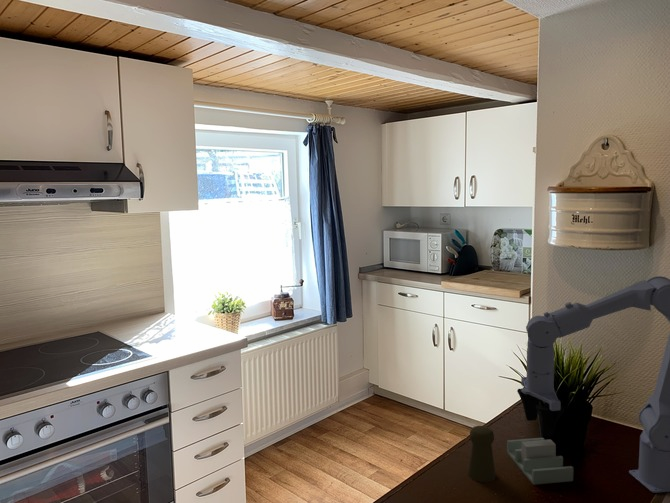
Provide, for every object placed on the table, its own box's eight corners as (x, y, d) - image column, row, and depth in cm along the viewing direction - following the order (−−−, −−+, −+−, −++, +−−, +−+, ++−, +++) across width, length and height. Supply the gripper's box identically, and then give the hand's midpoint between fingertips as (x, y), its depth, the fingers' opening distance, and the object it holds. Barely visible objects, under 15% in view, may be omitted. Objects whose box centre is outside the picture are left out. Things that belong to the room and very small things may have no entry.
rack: (542, 449, 126) (543, 437, 126) (573, 481, 113) (573, 467, 113) (507, 452, 126) (507, 440, 125) (533, 484, 112) (533, 471, 112)
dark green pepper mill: (488, 485, 112) (488, 437, 111) (462, 476, 116) (462, 429, 115) (500, 473, 117) (500, 427, 116) (475, 464, 121) (475, 419, 119)
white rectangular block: (550, 459, 121) (550, 439, 120) (555, 465, 118) (555, 444, 118) (521, 462, 120) (521, 441, 119) (525, 467, 118) (526, 446, 117)
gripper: (509, 360, 123) (508, 414, 125) (538, 383, 109) (537, 444, 111) (537, 358, 124) (536, 412, 126) (570, 381, 109) (569, 441, 111)
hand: (539, 427), depth 118 cm, fingers open, 7 cm apart
